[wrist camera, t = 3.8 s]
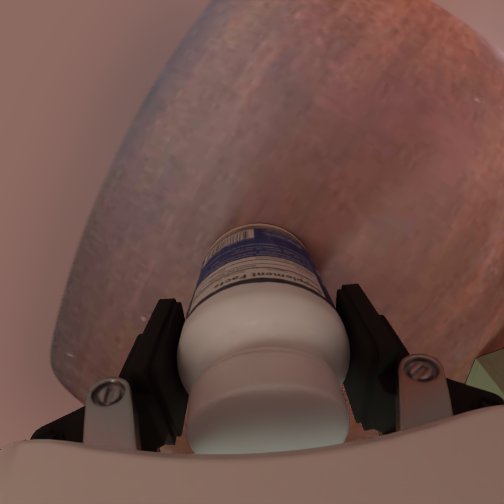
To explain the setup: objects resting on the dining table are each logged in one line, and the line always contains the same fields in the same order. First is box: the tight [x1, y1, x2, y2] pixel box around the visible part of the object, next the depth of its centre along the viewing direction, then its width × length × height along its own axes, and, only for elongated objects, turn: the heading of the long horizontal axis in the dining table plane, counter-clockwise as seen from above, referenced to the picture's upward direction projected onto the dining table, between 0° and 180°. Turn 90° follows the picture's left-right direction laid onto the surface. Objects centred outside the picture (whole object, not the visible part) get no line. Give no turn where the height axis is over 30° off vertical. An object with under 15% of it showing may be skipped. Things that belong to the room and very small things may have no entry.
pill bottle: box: [177, 223, 350, 454], centre depth 11 cm, size 5×5×10 cm
